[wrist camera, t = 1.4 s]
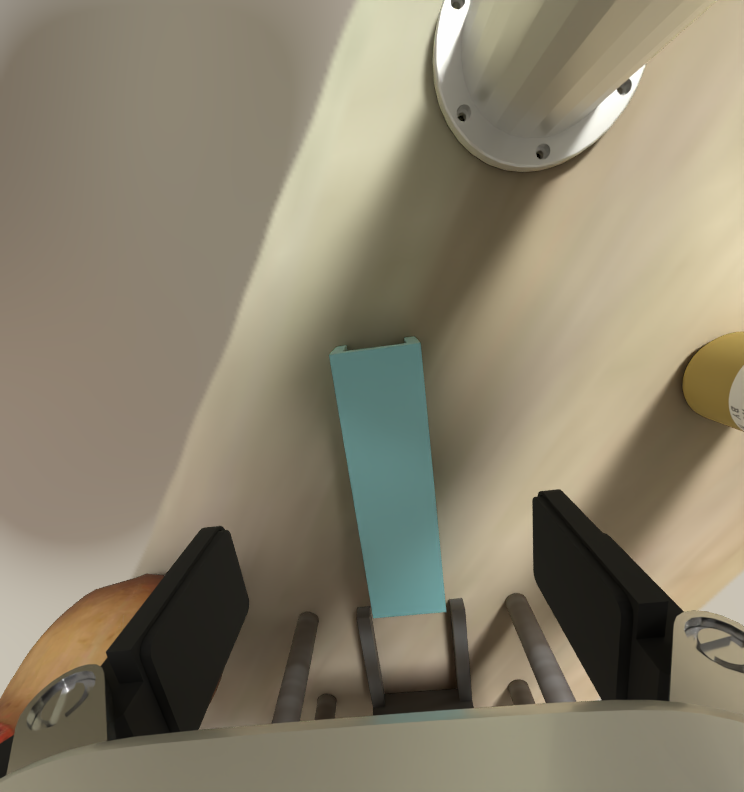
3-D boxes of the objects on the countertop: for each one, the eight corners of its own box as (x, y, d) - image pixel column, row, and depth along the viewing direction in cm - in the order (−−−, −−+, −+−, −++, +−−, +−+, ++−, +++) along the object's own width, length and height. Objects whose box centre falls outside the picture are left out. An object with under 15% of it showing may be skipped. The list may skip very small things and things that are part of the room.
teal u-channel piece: (336, 346, 27) (328, 354, 23) (414, 336, 26) (420, 342, 22) (374, 580, 32) (373, 618, 29) (438, 574, 32) (446, 611, 28)
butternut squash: (227, 533, 31) (-275, 1307, 7) (260, 646, 35) (-3, 1415, 11) (82, 549, 32) (-799, 1294, 8) (129, 658, 36) (-385, 1399, 12)
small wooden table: (296, 613, 34) (255, 767, 23) (526, 592, 32) (602, 745, 21) (319, 708, 37) (294, 882, 26) (528, 693, 36) (594, 869, 25)
